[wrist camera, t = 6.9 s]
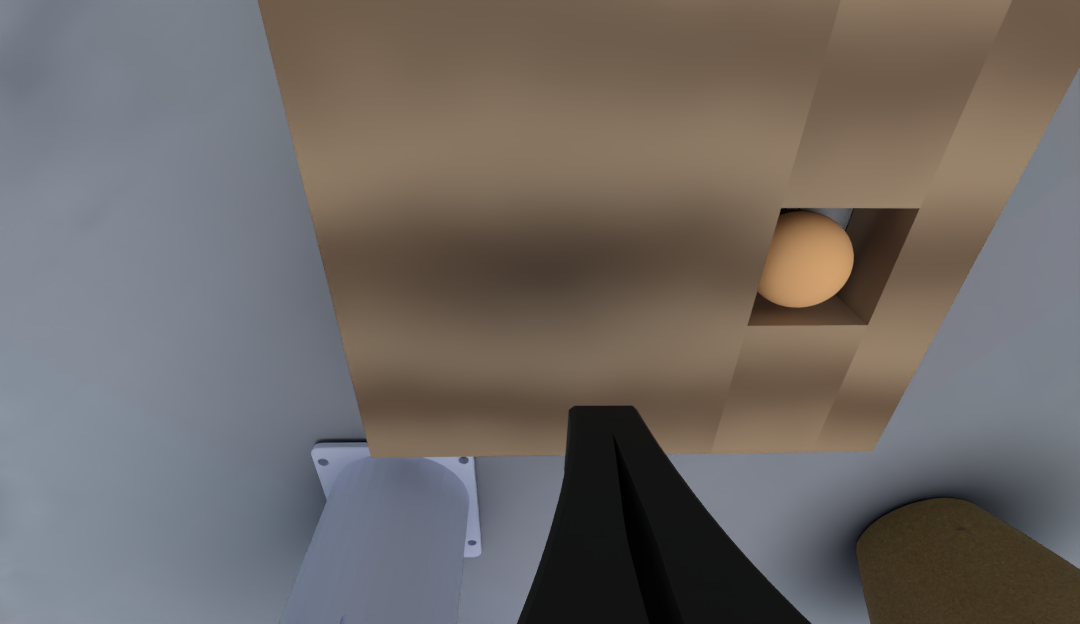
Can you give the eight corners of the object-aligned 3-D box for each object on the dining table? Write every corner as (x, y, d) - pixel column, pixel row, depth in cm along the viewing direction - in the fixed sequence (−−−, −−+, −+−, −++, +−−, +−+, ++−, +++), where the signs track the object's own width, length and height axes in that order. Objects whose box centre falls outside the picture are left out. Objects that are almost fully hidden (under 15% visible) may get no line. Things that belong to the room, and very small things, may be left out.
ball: (750, 268, 21) (844, 283, 19) (730, 314, 19) (835, 336, 17) (762, 190, 19) (868, 201, 17) (742, 231, 17) (862, 247, 15)
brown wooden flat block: (836, 404, 24) (872, 451, 22) (387, 408, 24) (371, 457, 21) (1037, -44, 15) (1143, -52, 12) (291, -57, 14) (240, -70, 12)
